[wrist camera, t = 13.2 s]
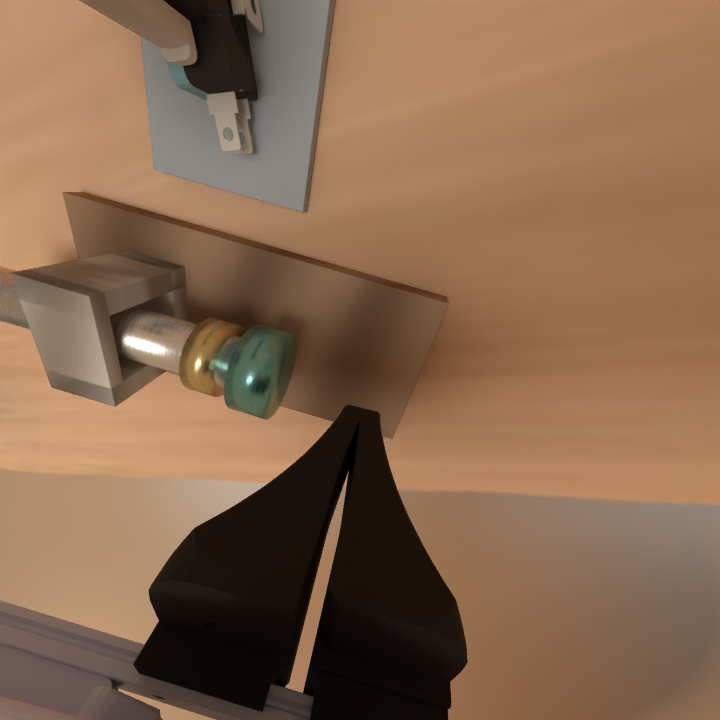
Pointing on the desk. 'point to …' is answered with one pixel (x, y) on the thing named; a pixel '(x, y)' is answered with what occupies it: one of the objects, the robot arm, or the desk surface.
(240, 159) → the pad
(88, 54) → the desk surface
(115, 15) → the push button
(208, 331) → the shaft
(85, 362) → the bracket
